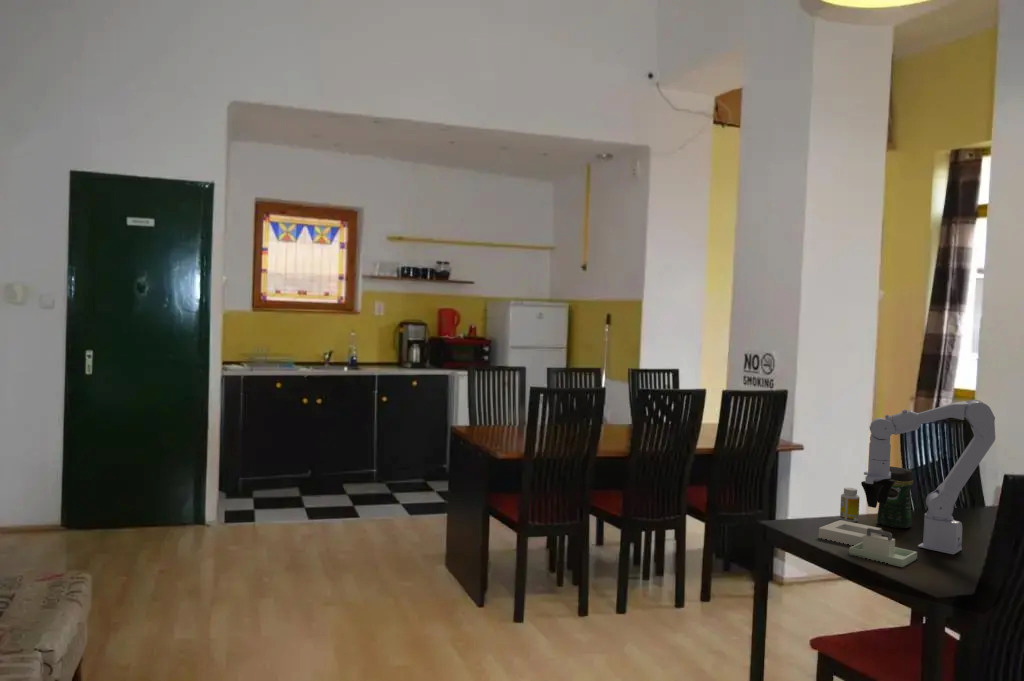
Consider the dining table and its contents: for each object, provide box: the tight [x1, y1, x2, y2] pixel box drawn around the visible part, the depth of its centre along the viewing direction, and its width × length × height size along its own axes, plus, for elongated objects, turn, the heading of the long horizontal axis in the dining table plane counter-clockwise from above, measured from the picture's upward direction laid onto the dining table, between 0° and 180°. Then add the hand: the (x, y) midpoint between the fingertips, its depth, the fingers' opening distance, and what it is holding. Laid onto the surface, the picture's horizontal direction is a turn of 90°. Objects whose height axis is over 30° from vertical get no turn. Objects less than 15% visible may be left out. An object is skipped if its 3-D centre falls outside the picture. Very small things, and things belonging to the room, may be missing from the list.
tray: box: [848, 542, 918, 568], centre depth 220 cm, size 14×11×2 cm
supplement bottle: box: [839, 487, 860, 523], centre depth 260 cm, size 6×6×10 cm
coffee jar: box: [876, 466, 914, 529], centre depth 256 cm, size 10×8×19 cm
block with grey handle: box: [863, 528, 896, 557], centre depth 221 cm, size 7×4×6 cm, turn 45°
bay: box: [818, 519, 883, 546], centre depth 238 cm, size 12×15×3 cm
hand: (877, 505), depth 237 cm, fingers open, 7 cm apart
